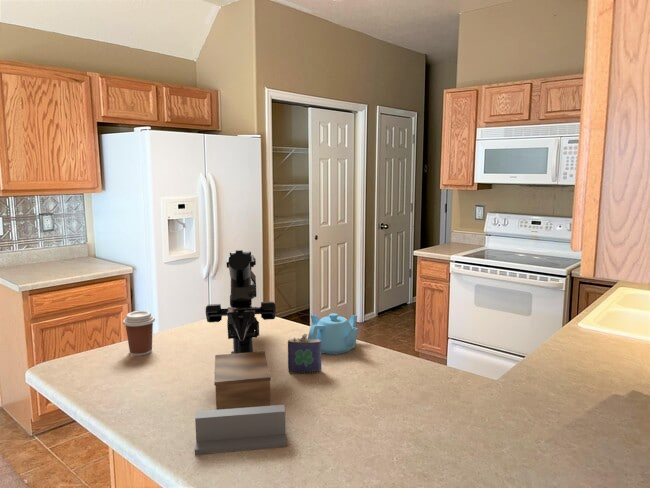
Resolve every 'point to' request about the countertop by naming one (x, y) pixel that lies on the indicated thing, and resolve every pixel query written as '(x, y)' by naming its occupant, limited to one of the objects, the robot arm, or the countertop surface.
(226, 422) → the gray flanged bar
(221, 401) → the recipe box
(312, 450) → the countertop surface
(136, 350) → the coffee cup
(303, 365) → the flask
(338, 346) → the teapot
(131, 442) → the countertop surface
